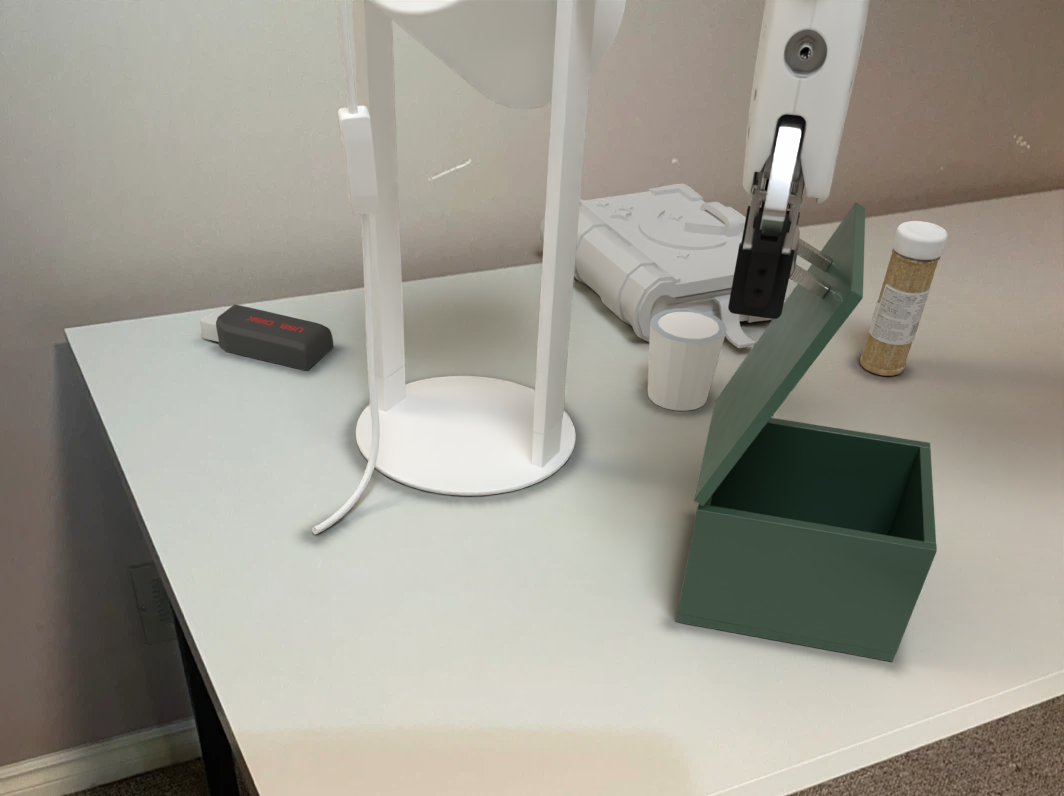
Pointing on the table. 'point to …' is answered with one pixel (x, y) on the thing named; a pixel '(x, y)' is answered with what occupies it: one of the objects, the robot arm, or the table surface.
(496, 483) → the desk lamp
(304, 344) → the usb drive
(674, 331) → the white cup
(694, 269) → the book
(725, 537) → the green box
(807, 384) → the table surface
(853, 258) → the lid
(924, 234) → the sprinkles bottle
